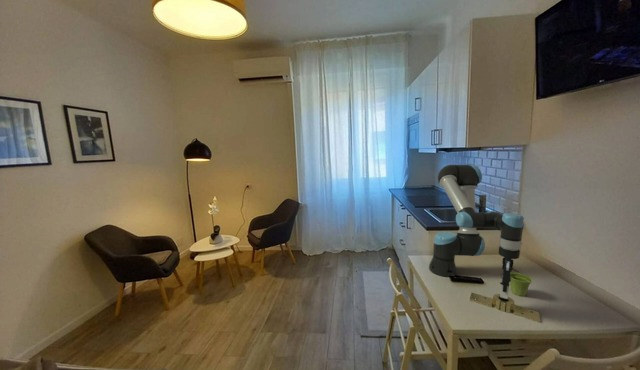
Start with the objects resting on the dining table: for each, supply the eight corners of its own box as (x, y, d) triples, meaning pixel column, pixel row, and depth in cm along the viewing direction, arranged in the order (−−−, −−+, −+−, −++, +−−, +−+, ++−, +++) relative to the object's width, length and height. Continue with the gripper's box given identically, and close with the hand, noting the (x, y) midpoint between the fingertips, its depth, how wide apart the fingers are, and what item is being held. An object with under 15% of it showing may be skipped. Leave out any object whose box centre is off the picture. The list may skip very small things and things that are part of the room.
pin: (497, 304, 117) (500, 276, 115) (498, 300, 120) (501, 272, 118) (507, 307, 114) (511, 278, 112) (508, 303, 117) (511, 275, 115)
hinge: (469, 300, 122) (470, 293, 121) (471, 293, 128) (472, 286, 128) (540, 323, 106) (541, 314, 106) (538, 313, 113) (539, 305, 112)
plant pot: (524, 300, 122) (526, 283, 121) (502, 290, 131) (504, 275, 129) (533, 295, 127) (535, 279, 125) (512, 286, 135) (514, 271, 134)
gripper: (520, 255, 105) (514, 307, 108) (519, 244, 117) (513, 291, 120) (498, 251, 109) (493, 301, 113) (499, 240, 122) (494, 286, 125)
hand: (503, 295), depth 116 cm, fingers closed on pin, 2 cm apart
